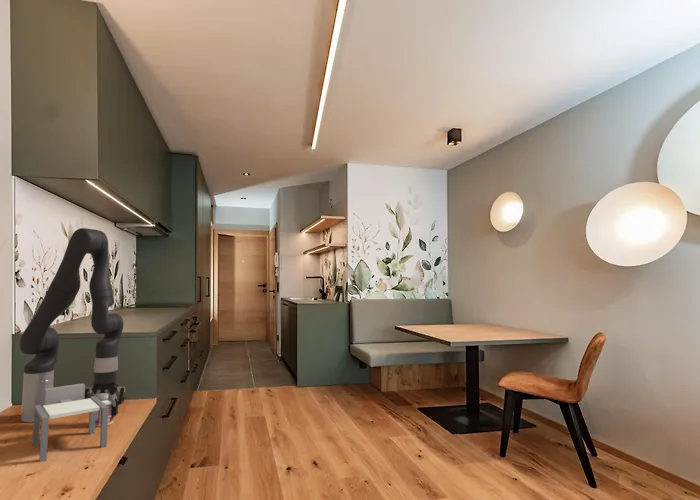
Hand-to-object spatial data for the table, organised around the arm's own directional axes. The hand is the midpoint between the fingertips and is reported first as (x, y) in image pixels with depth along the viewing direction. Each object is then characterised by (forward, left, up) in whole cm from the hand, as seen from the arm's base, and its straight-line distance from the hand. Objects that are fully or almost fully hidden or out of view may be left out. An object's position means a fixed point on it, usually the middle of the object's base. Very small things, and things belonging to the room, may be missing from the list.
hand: (103, 416), depth 156 cm
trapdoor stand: (+15, -13, -3) cm, 20 cm away
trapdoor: (+12, -13, +8) cm, 20 cm away
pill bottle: (0, 0, -3) cm, 3 cm away
